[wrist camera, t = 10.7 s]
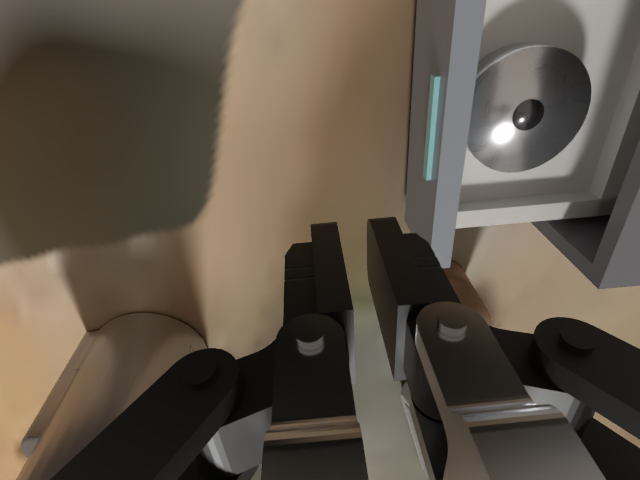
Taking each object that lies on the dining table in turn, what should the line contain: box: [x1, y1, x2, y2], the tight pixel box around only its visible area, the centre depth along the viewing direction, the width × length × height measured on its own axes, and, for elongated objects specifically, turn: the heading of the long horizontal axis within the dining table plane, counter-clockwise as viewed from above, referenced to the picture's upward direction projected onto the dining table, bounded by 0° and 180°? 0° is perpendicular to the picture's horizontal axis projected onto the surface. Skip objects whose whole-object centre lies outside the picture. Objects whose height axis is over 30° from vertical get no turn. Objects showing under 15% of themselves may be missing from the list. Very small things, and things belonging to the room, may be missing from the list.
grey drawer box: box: [405, 0, 640, 268], centre depth 21 cm, size 13×15×6 cm
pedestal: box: [443, 260, 490, 325], centre depth 29 cm, size 4×4×5 cm
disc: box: [466, 42, 591, 173], centre depth 21 cm, size 6×6×2 cm
